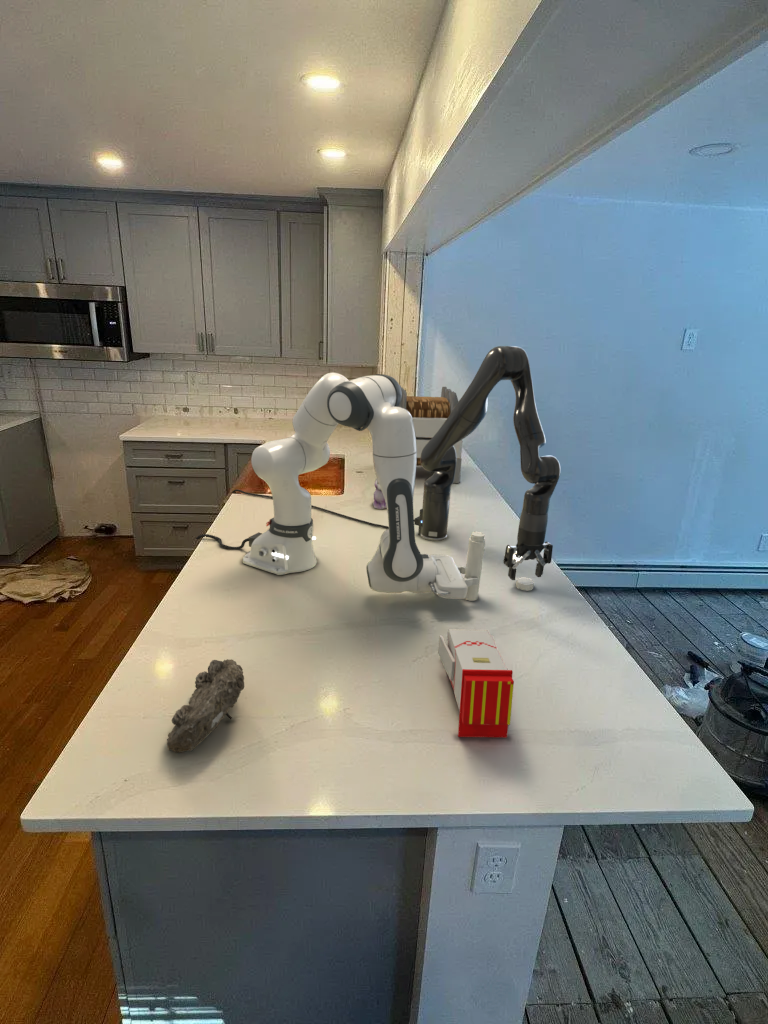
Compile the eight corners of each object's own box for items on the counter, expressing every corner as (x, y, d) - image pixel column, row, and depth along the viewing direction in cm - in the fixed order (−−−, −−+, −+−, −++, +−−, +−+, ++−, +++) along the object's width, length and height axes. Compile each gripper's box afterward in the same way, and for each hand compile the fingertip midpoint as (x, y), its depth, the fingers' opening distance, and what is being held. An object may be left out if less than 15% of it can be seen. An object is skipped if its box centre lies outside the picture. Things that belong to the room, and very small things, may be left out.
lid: (528, 582, 168) (529, 576, 168) (536, 590, 164) (537, 584, 163) (512, 583, 167) (513, 577, 167) (520, 591, 162) (521, 585, 162)
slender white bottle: (461, 599, 156) (469, 535, 150) (462, 592, 160) (470, 530, 154) (477, 601, 156) (485, 537, 149) (477, 594, 159) (486, 532, 153)
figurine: (377, 511, 221) (379, 474, 216) (366, 503, 229) (367, 467, 224) (399, 508, 225) (401, 471, 220) (387, 500, 233) (388, 465, 228)
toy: (488, 613, 130) (523, 677, 101) (484, 667, 133) (517, 744, 104) (435, 612, 130) (455, 676, 101) (432, 666, 133) (451, 743, 103)
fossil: (192, 660, 117) (244, 628, 112) (224, 691, 120) (276, 661, 115) (142, 746, 98) (202, 712, 93) (182, 779, 101) (242, 748, 96)
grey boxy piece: (382, 463, 289) (386, 382, 275) (445, 464, 293) (451, 384, 279) (390, 482, 257) (394, 392, 243) (460, 483, 261) (468, 394, 247)
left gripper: (433, 583, 143) (487, 582, 145) (420, 550, 163) (467, 550, 164) (432, 605, 146) (484, 604, 147) (419, 570, 165) (465, 570, 166)
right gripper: (547, 519, 164) (539, 569, 170) (503, 522, 160) (496, 574, 166) (562, 529, 158) (553, 581, 163) (517, 532, 154) (509, 585, 159)
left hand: (475, 575), depth 156 cm, fingers closed on slender white bottle, 4 cm apart
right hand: (524, 577), depth 165 cm, fingers open, 8 cm apart
